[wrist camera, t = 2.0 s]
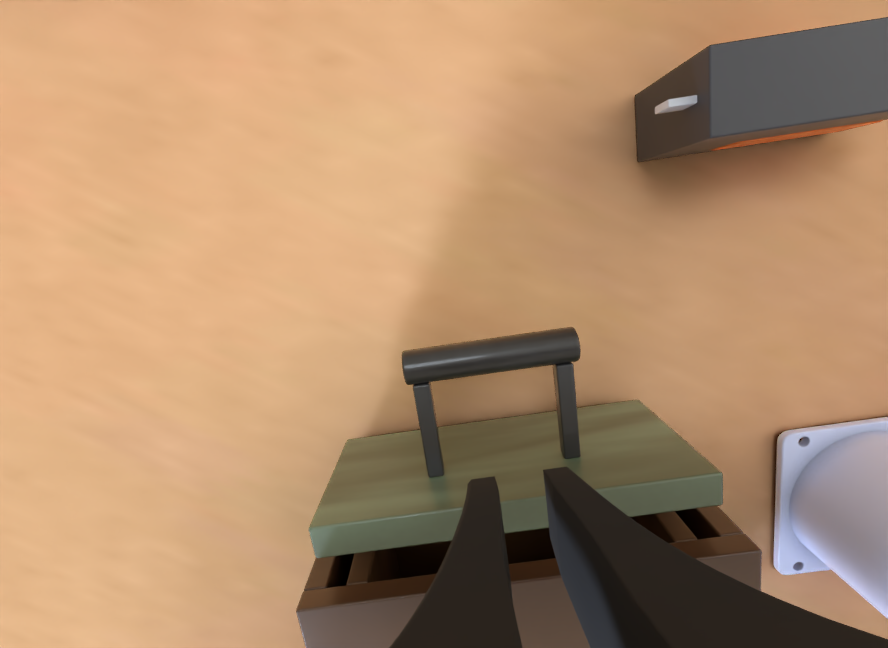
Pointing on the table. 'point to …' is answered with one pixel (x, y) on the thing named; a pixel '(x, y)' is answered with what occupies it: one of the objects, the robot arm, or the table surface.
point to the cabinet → (533, 587)
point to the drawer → (501, 466)
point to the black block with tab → (767, 91)
